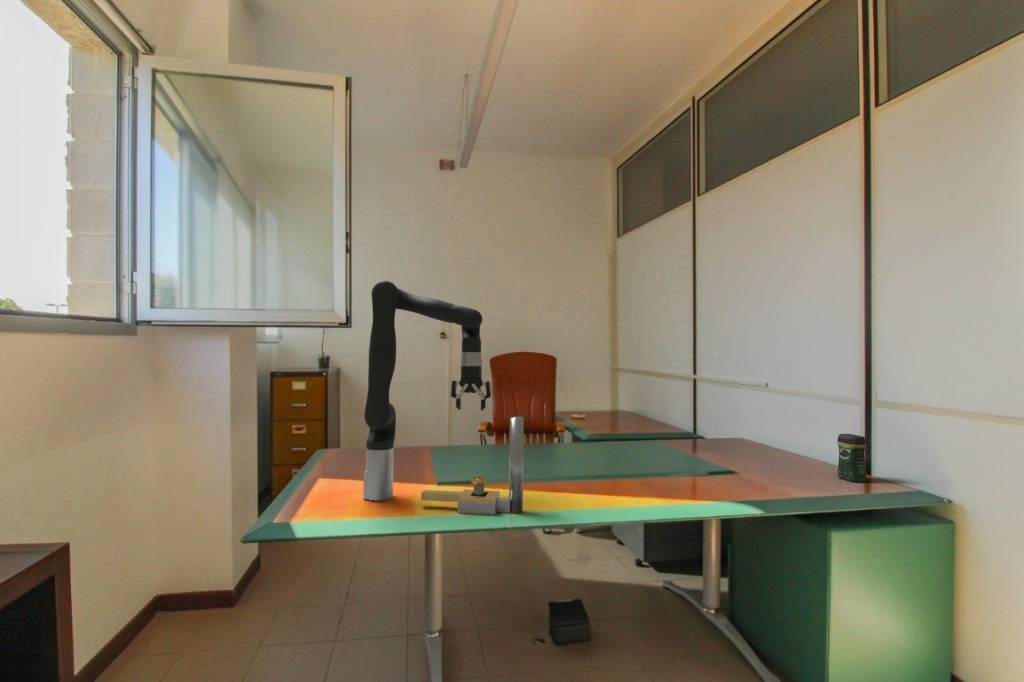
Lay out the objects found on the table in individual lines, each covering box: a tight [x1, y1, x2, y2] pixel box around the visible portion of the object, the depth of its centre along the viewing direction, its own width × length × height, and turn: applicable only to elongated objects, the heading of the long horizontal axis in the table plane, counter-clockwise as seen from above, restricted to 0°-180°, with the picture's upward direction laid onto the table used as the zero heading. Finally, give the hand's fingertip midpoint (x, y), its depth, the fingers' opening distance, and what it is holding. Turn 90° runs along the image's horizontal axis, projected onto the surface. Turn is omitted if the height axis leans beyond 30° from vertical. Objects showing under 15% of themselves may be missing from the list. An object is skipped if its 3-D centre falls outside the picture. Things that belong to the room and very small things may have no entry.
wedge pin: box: [473, 476, 485, 497], centre depth 164 cm, size 4×4×10 cm
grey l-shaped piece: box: [420, 416, 524, 516], centre depth 164 cm, size 33×9×30 cm, turn 82°
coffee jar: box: [837, 433, 868, 483], centre depth 207 cm, size 10×8×19 cm
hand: (470, 409), depth 183 cm, fingers open, 8 cm apart
